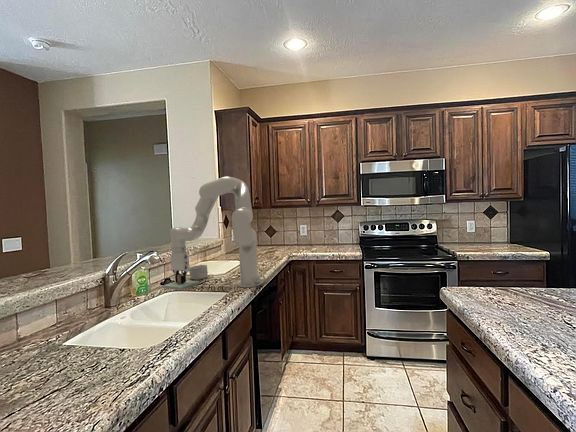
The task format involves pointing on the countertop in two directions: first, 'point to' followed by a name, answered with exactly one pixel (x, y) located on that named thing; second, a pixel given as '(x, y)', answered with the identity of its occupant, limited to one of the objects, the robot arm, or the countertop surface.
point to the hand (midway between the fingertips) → (180, 281)
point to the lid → (179, 284)
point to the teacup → (198, 272)
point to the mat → (180, 289)
